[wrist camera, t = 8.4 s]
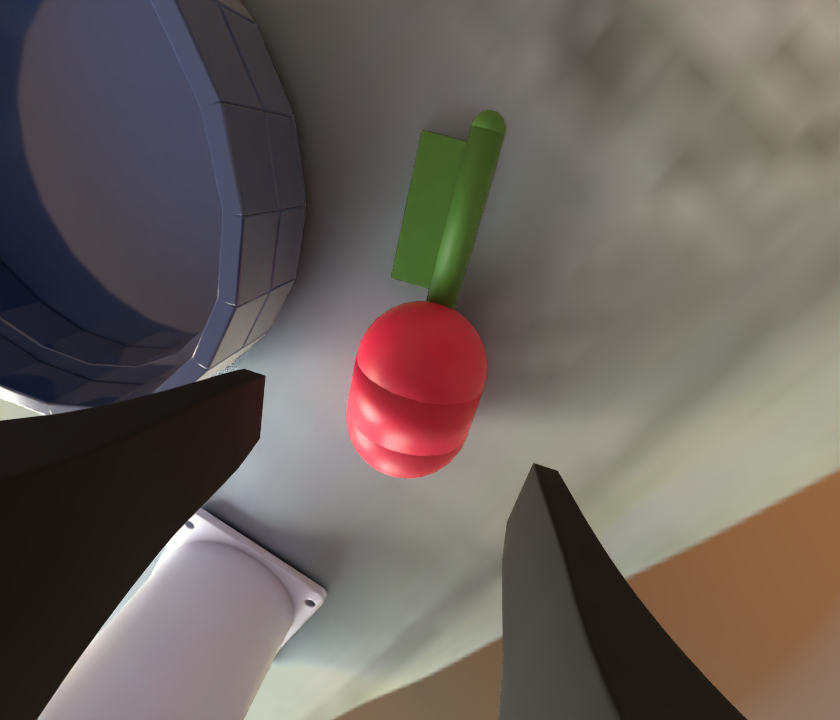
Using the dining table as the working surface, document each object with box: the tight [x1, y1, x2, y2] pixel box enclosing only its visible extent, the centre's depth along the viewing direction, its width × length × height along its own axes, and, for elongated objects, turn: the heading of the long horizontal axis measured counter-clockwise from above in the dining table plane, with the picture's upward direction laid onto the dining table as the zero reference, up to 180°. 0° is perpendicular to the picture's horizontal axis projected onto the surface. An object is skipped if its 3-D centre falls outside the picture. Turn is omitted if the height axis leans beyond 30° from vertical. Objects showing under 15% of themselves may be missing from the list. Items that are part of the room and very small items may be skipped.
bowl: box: [0, 0, 307, 415], centre depth 13 cm, size 15×15×4 cm
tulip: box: [346, 110, 506, 478], centre depth 13 cm, size 11×4×4 cm, turn 166°
